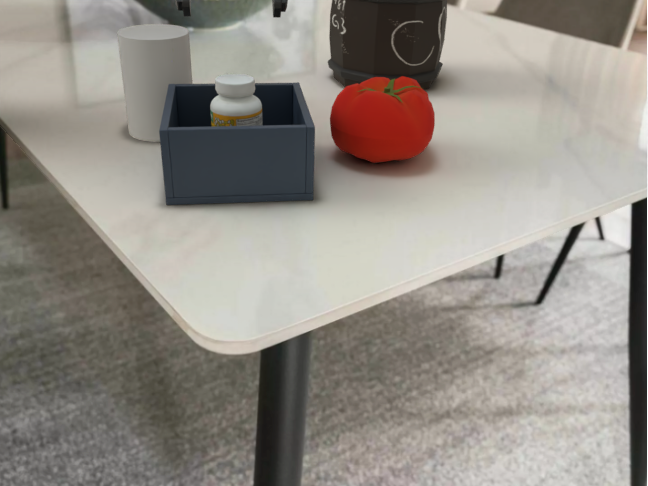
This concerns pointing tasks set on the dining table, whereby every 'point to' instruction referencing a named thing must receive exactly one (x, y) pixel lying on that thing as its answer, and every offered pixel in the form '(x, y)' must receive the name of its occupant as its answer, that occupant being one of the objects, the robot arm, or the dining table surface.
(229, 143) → the tote
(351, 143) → the tomato
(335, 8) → the dark plant pot
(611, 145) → the dining table surface
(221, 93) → the supplement bottle
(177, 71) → the cup
